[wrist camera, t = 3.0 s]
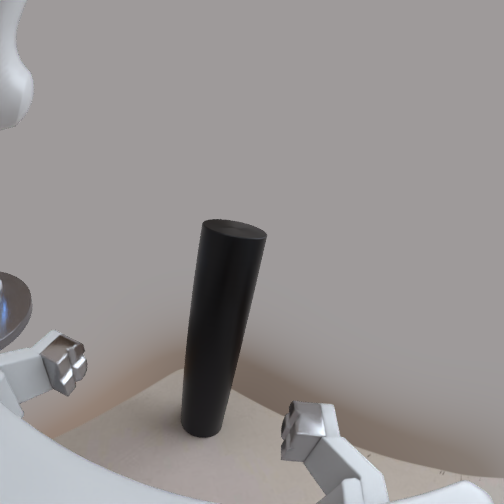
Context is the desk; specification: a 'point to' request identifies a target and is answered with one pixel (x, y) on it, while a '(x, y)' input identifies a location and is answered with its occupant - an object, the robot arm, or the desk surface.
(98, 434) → the desk surface
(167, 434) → the desk surface
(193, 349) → the cylinder
